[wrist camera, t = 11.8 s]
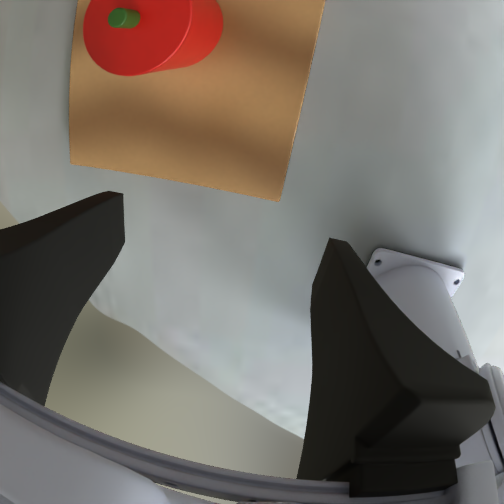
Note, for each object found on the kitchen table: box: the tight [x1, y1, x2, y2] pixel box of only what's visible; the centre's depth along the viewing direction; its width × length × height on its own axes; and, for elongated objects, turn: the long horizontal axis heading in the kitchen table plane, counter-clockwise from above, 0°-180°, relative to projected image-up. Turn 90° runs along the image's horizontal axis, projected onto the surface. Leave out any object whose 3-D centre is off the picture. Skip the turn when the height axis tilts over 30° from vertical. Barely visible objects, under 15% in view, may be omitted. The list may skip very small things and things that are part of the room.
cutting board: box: [69, 0, 325, 202], centre depth 14 cm, size 18×14×2 cm
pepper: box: [83, 0, 223, 76], centre depth 11 cm, size 5×5×6 cm
